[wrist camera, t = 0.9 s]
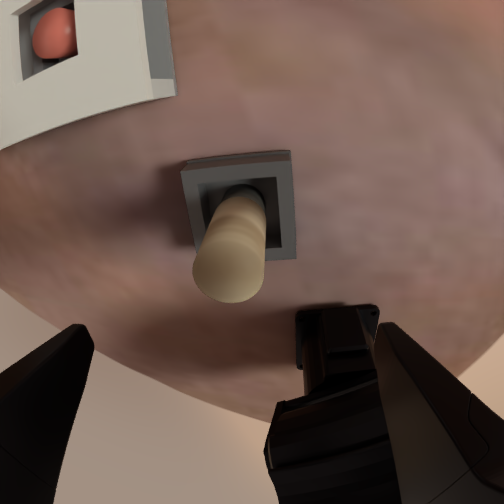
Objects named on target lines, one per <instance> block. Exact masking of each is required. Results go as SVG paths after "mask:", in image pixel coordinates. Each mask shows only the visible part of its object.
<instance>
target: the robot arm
mask: <svg viewBox="0 0 504 504" xmlns="http://www.w3.org/2000/svg"><path fill="white" fill-rule="evenodd" d="M372 311H374V312H372ZM371 312H372V313H371ZM379 314H380V311H379V308H378V306H376V305H368V306H357V307H346V308H334V309H321V310H307V311H299V312H297V313H296V315H295V325H296V365H297V368H298V369H300V370H303V378H304V394H305V396H302V397H298V398H295V399H292V400H288V401H285V400H284V401H280V402H277V405H276V408H275V412H274V415H273V418H272V422H271V425H270V428H269V432H268V435H267V439H266V442H265V447H264V456H265V461H266V465H267V468H268V474H269V476H270V478H271V480H272V482H273V484H274V486H275V490H276V493H277V496H278V500H279V504H504V420H503V419H502V418H501V417H500V416H498V415H497V414H496V413H495V412H493V411H492V410H491V409H490V408H489V407H488V406H486V405H485V404H484V403H483V402H482V401H481V400H480V399H478V397H476V396H475V395H474V394H473V393H472V394H471V391H470V390H469V389H468V388H467V387H466V386H465V385H463V384H462V383H461V382H460V381H459V380H458V379H457V378H456V377H455V376H454V375H453V374H451V373H450V372H449V371H448V370H447V369H446V368H445V367H444V366H443V365H441V364H440V363H439V362H438V361H437V360H436V359H435V358H434V357H433V356H431V355H430V354H429V353H428V352H427V351H426V350H425V349H424V348H422V347H421V346H420V345H419V344H418V343H417V342H416V341H414V340H413V339H412V338H411V337H410V336H409V335H408V334H406V333H405V332H404V331H403V330H402V329H401V328H400V327H398V326H397V325H396V324H395V323H393V322H385V323H380V324H379V325H378V319H379ZM300 317H304V318H300ZM377 325H378V329H377ZM376 330H377V333H376ZM375 335H376V338H375ZM374 340H375V342H374ZM93 352H94V342H93V340H92V338H91V336H90V334H89V332H88V330H87V328H86V326H85V325H83V324H72V325H71V326H69V327H68V328H66V329H65V330H63V331H62V332H60V333H59V334H57V335H56V336H54V337H53V338H51V339H50V340H48V341H47V342H45V343H44V344H42V345H41V346H39V347H38V348H36V349H35V350H33V351H32V352H30V353H29V354H28V355H26V356H25V357H23V358H22V359H20V360H19V361H18V362H16V363H15V364H13V365H11V366H10V367H9V368H7V369H6V370H4V371H3V372H1V373H0V504H53V502H54V497H55V492H56V487H57V483H58V479H59V475H60V470H61V466H62V462H63V459H64V455H65V451H66V447H67V444H68V440H69V436H70V433H71V430H72V426H73V423H74V420H75V417H76V413H77V410H78V407H79V404H80V401H81V398H82V395H83V392H84V388H85V385H86V381H87V376H88V372H89V368H90V364H91V360H92V356H93ZM302 364H303V365H302Z"/></svg>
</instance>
